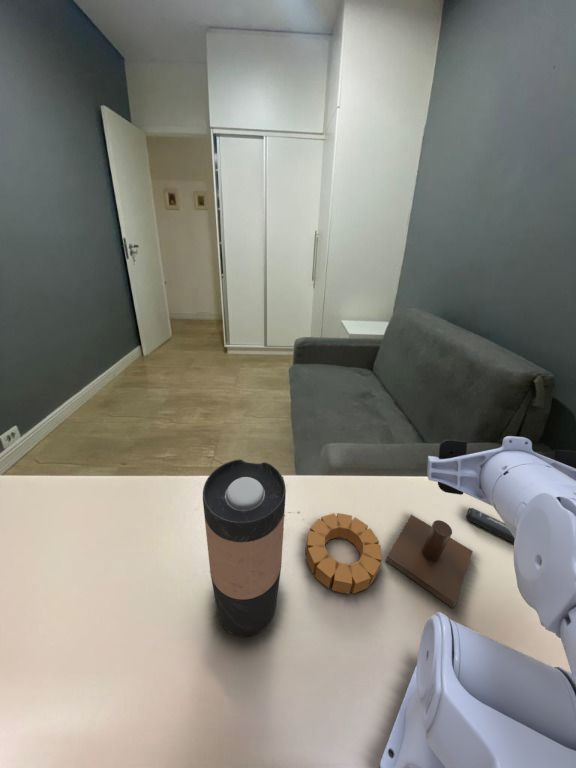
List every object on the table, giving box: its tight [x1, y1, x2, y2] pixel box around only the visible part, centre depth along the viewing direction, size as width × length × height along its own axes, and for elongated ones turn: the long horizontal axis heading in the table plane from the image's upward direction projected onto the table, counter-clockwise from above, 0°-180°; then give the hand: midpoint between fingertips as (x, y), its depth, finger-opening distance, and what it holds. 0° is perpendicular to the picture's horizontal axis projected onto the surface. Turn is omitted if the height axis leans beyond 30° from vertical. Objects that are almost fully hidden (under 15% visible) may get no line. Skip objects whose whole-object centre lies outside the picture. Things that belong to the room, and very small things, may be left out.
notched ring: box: [305, 512, 383, 595], centre depth 43 cm, size 10×10×2 cm
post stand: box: [385, 514, 474, 609], centre depth 42 cm, size 9×9×7 cm
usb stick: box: [465, 507, 515, 544], centre depth 48 cm, size 10×3×2 cm, turn 54°
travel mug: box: [202, 459, 287, 638], centre depth 33 cm, size 8×8×20 cm
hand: (489, 456), depth 37 cm, fingers open, 7 cm apart
